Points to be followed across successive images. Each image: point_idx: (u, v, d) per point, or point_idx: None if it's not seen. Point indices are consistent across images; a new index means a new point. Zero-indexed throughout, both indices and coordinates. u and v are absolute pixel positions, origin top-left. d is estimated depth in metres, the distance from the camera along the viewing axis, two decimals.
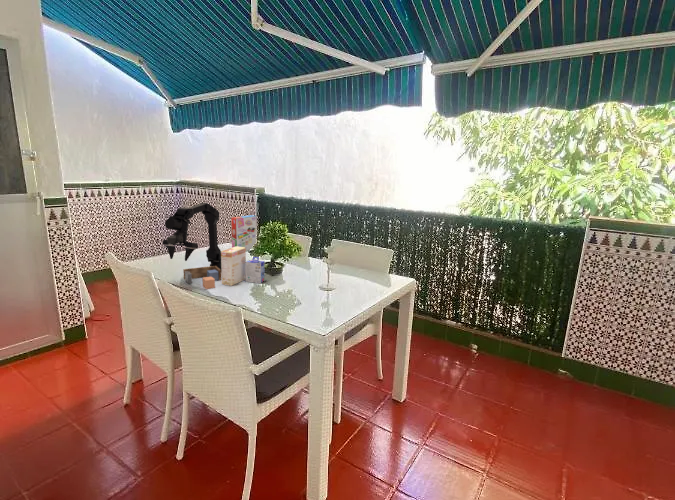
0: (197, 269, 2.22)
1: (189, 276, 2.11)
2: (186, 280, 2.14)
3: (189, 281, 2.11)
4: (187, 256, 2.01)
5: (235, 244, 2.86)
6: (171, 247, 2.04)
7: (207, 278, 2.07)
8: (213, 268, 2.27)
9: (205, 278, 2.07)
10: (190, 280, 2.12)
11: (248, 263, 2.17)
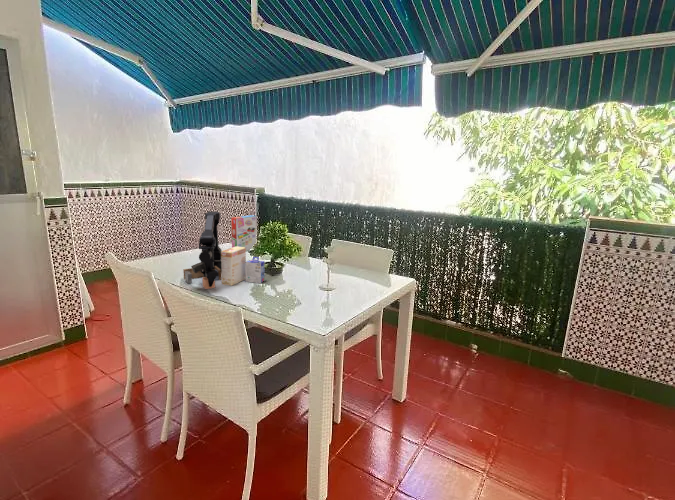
0: None
1: (189, 276, 2.11)
2: (186, 280, 2.14)
3: (189, 281, 2.11)
4: (210, 282, 2.04)
5: (235, 244, 2.86)
6: (206, 272, 2.10)
7: (207, 278, 2.07)
8: None
9: (205, 278, 2.07)
10: (190, 280, 2.12)
11: (248, 263, 2.17)
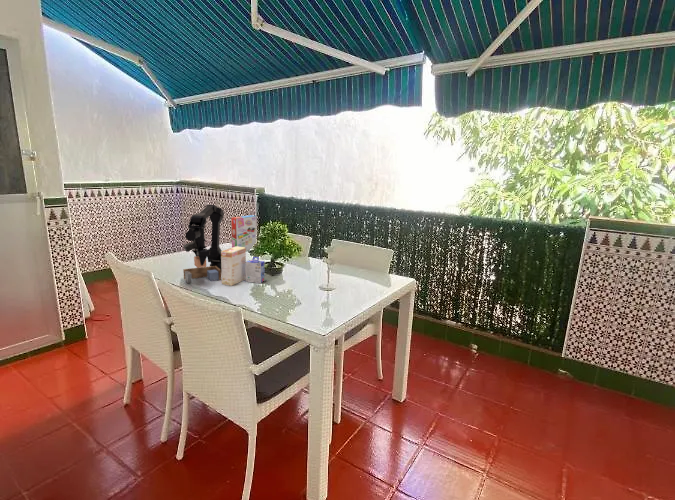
0: (197, 269, 2.22)
1: (189, 276, 2.11)
2: (186, 280, 2.14)
3: (189, 281, 2.11)
4: (202, 261, 2.10)
5: (235, 244, 2.86)
6: None
7: (198, 257, 2.13)
8: (213, 268, 2.27)
9: (197, 257, 2.13)
10: (190, 280, 2.12)
11: (248, 263, 2.17)
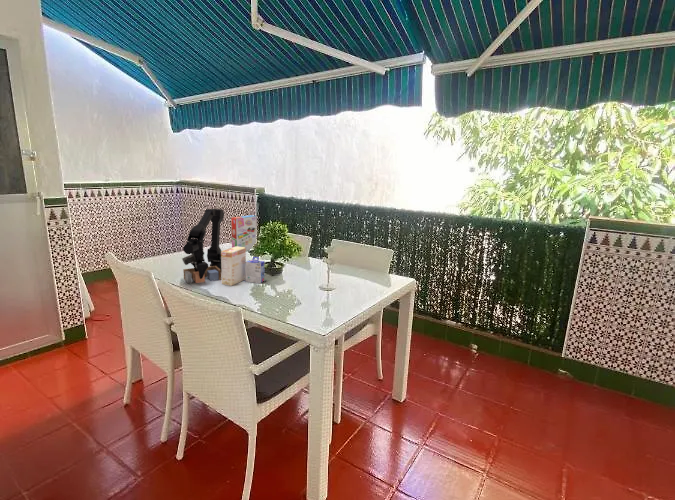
0: None
1: (189, 276, 2.11)
2: (186, 280, 2.14)
3: (189, 281, 2.11)
4: (201, 275, 2.12)
5: (235, 244, 2.86)
6: (196, 264, 2.19)
7: (197, 272, 2.16)
8: (213, 268, 2.27)
9: (195, 272, 2.16)
10: (190, 280, 2.12)
11: (248, 263, 2.17)
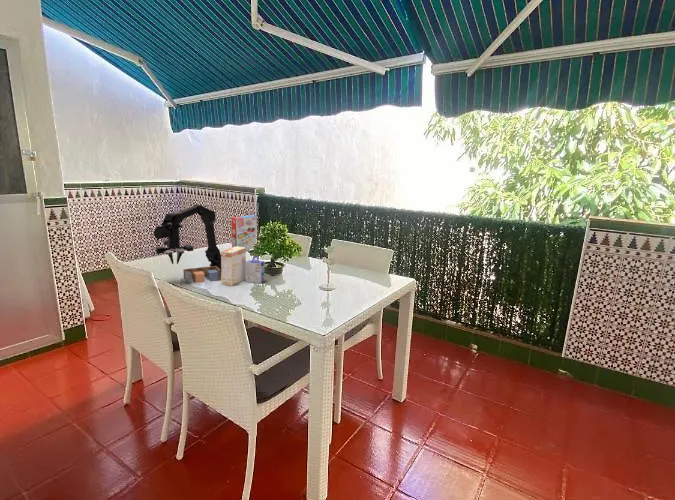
0: (197, 269, 2.22)
1: (189, 276, 2.11)
2: (186, 280, 2.14)
3: (189, 281, 2.11)
4: None
5: (235, 244, 2.86)
6: (177, 252, 2.08)
7: (197, 272, 2.16)
8: (213, 268, 2.27)
9: (195, 272, 2.16)
10: (190, 280, 2.12)
11: (248, 263, 2.17)
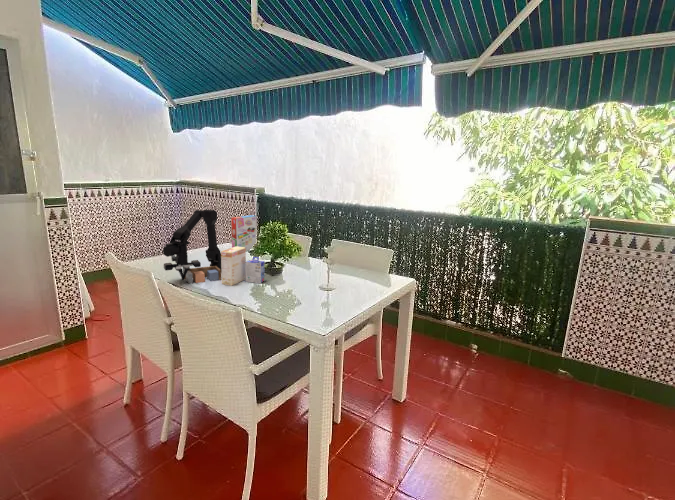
0: (197, 269, 2.22)
1: (190, 276, 2.11)
2: (187, 280, 2.14)
3: (190, 281, 2.12)
4: None
5: (235, 244, 2.86)
6: (183, 268, 2.12)
7: (197, 272, 2.16)
8: (213, 268, 2.27)
9: (195, 272, 2.16)
10: (191, 280, 2.12)
11: (248, 263, 2.17)
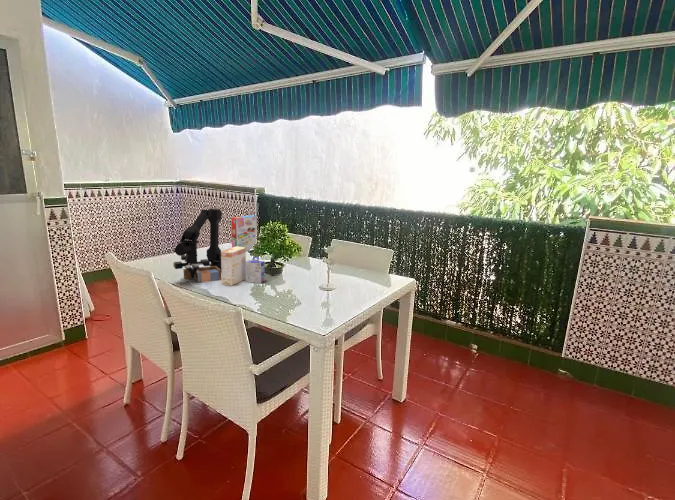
0: (197, 269, 2.22)
1: (199, 275, 2.14)
2: (196, 279, 2.17)
3: (199, 280, 2.14)
4: (190, 274, 2.14)
5: (235, 244, 2.86)
6: (193, 267, 2.14)
7: (203, 272, 2.18)
8: (213, 268, 2.27)
9: (201, 272, 2.18)
10: (200, 279, 2.15)
11: (248, 263, 2.17)
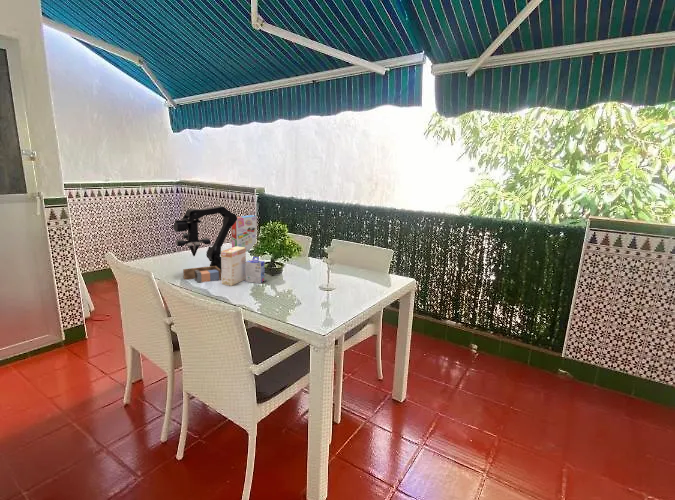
0: (197, 269, 2.22)
1: (199, 275, 2.14)
2: (196, 279, 2.17)
3: (199, 280, 2.14)
4: None
5: (235, 244, 2.86)
6: (194, 245, 2.24)
7: (203, 272, 2.18)
8: (213, 268, 2.27)
9: (201, 272, 2.18)
10: (200, 279, 2.14)
11: (248, 263, 2.17)
